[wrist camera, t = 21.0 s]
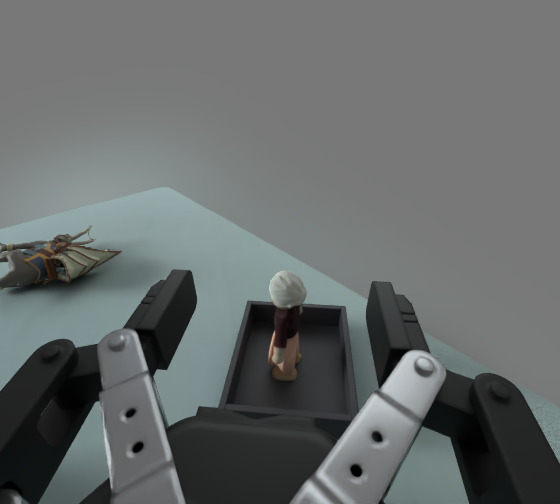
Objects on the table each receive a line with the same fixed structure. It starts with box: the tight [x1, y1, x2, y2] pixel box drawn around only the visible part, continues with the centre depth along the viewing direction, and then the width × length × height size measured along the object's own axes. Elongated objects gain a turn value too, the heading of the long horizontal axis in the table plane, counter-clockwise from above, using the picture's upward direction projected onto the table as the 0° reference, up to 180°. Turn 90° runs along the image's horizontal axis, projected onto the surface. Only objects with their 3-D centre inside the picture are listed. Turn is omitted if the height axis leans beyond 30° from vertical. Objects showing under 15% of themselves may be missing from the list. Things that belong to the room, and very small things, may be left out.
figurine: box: [0, 226, 122, 290], centre depth 48 cm, size 20×6×17 cm
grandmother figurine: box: [268, 271, 307, 381], centre depth 30 cm, size 8×4×13 cm, turn 174°
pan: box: [218, 301, 358, 440], centre depth 33 cm, size 12×14×3 cm
